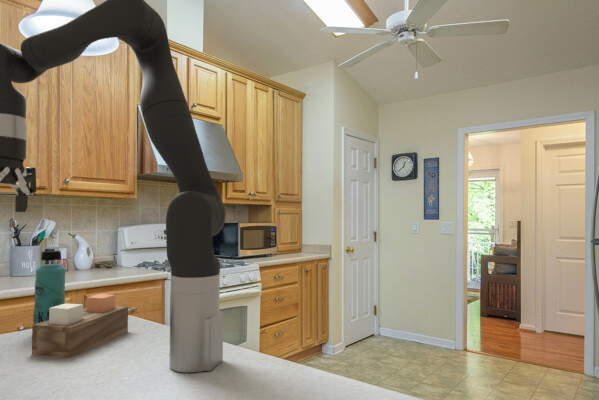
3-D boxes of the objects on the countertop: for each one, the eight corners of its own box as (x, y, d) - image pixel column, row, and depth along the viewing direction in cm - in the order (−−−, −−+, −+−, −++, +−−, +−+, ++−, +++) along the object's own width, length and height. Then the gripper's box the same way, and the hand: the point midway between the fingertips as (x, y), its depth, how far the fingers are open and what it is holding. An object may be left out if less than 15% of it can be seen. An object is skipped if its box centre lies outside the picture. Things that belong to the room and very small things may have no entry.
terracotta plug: (115, 315, 99) (115, 294, 99) (102, 320, 95) (103, 298, 95) (99, 314, 100) (99, 294, 100) (86, 318, 96) (86, 297, 96)
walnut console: (127, 331, 100) (128, 306, 101) (69, 357, 82) (70, 327, 82) (95, 329, 102) (96, 305, 102) (31, 354, 84) (32, 325, 84)
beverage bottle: (46, 329, 102) (48, 249, 102) (71, 330, 101) (73, 249, 101) (25, 337, 95) (28, 251, 96) (51, 338, 94) (53, 252, 95)
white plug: (82, 327, 88) (82, 304, 89) (67, 333, 84) (67, 309, 84) (64, 326, 89) (65, 303, 90) (48, 332, 85) (49, 307, 85)
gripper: (-11, 130, 81) (-14, 211, 81) (46, 142, 95) (45, 212, 95) (-42, 131, 83) (-44, 211, 82) (19, 143, 97) (17, 212, 96)
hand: (3, 211), depth 88 cm, fingers open, 8 cm apart
